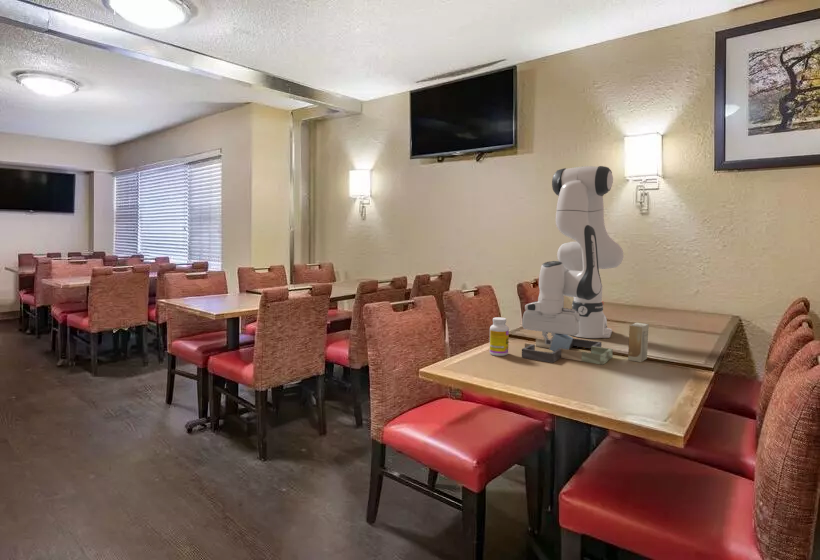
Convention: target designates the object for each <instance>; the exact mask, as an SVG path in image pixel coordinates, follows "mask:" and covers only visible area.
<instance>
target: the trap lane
mask: <svg viewBox="0 0 820 560" xmlns="http://www.w3.org/2000/svg"><path fill="white" fill-rule="evenodd" d="M572 338H573V339H572V342H571V345H570V347H569V350H568V349H561V348H559V349H557V350H556V351H552V352H547V351H543V350H542V351H541V350H536V347H538V348H543V349H550V347H551V345H548V344H545V339H544V338H538V337H537V338H535V343H534V344H533V343H527V342H525V343H524V347H523V348H522V349H521V358H522V359H523V358H524V359H528V360H534V361H539V362H540V361H541V362H546V363H550V364H551V363H552V364H554V363H555V362H556V361H559V360H560V359H567V360H571V361H572V360H573V361H578V362H585V363H590V364H597V365H602V366H603V365H604V364H606V363H607V362H608V361H610V360H611V359H613V352H614V351H613V348H607V347H602V341H596V340H589V339H581V338H574V337H572ZM573 346H577V347H576V348H578V347H585V348H591V349H590V352H587V351H580V350H575V349H574V350H573V349H571V348H574V347H573ZM585 348H584V349H585Z"/></svg>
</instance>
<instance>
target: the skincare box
mask: <svg viewBox="0 0 820 560" xmlns="http://www.w3.org/2000/svg"><path fill="white" fill-rule="evenodd" d="M649 326H650V324H649V323H641V322H634V323H632V324H630V325H629V327H628V329H629V330H628V331H629V332H628V348H627V349H628V351H627V352H628V353H627V360H628V361H632V362H636V363H637V362H638V363H641V362H644V361H645V360H647V359H648V347H649V346H648V345H649Z"/></svg>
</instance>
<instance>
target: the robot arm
mask: <svg viewBox="0 0 820 560" xmlns="http://www.w3.org/2000/svg"><path fill="white" fill-rule="evenodd" d="M613 183H614V176H613V172H612V170H611V169H610V167H608V166H605V165H599V166H593V165H587V166H586V165H585V166H583V165H582V166H577V167H571V168H570V167H569V168H566V167H565V168H561V169H557V170H556V171H555V172H554V174H553V175H552V179H551V186H552V187H551V188H552V190H553V192H554V194H555V195H556V196H558V198H557V202H556V203H557V204H556V211H555V226H556V228H557V230H558V231H559V232H560V233H561V234H562V235H564V236H565V237H567V238H570V239H571V240H574V241H569V242H565V243H562V244H561V245H560V246H559V247H558V250H557V252H556V258H557V260H552V261H545V262H544V263H542V264H541V266H540V271H539V274H538V275H539V276H538V288H539V289H538V290H539V292H538V293H539V294H538V298H537V301H533V302H529V303H527V304H525V305H524V310H525V311H524V312H523V314H522V315H523V316H522V320H521V323H522V324H521V326H522V328H523V330H528V331H529V330H530V331H536V332H541V335H542V336H543V339H545V344H548V345H551V344H552V341H553V339H554V336H555V334H563V335H568V336H570V337H577V338H584V339H585V338H587V339H601V338H602V339H608V338H610V337H611V335H612V333H613V330H612V329H613V328H609V327H608V322H607V320H608V319H607V317H606V315H605V313H604V305H605V302H604V301H603V284H602V279H601V275H600V269H601V270H606V269H615V268H618V267H619V266H620V265H621V264H622V262H623V261H624V250H623V249H622V247H621V245H620V244H619V243H617V242H615V241H614V239H612V238H611V237H610V235H609V234H608V233H609V232H607V230H606V227H605V226H606V225H605V219H604V218H605V215H604V210H605V209H604V197H603V196H604V195H606V194H607V193H609V192H610V191H611V189H612V186H613ZM564 297H571V298H573V300H572V304H571V308H565V307H564V303H565V301H564V300H565V298H564ZM549 333H551V338H549V337H548V334H549Z"/></svg>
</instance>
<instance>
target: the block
mask: <svg viewBox="0 0 820 560" xmlns="http://www.w3.org/2000/svg"><path fill="white" fill-rule="evenodd" d="M573 338H574V337H573V336H571V335H563V334H555V336H554V339H553V341H552V344H551V347H550V348H549V351H550V350H551V351H552V352H554V351H556V350H557V349H559V348H561V349H568V350H570V349H569V347H570V345H571V342H572V339H573Z"/></svg>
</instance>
